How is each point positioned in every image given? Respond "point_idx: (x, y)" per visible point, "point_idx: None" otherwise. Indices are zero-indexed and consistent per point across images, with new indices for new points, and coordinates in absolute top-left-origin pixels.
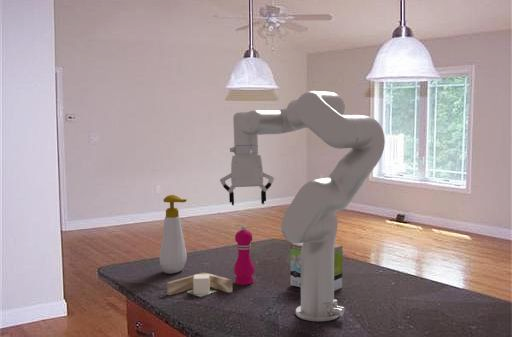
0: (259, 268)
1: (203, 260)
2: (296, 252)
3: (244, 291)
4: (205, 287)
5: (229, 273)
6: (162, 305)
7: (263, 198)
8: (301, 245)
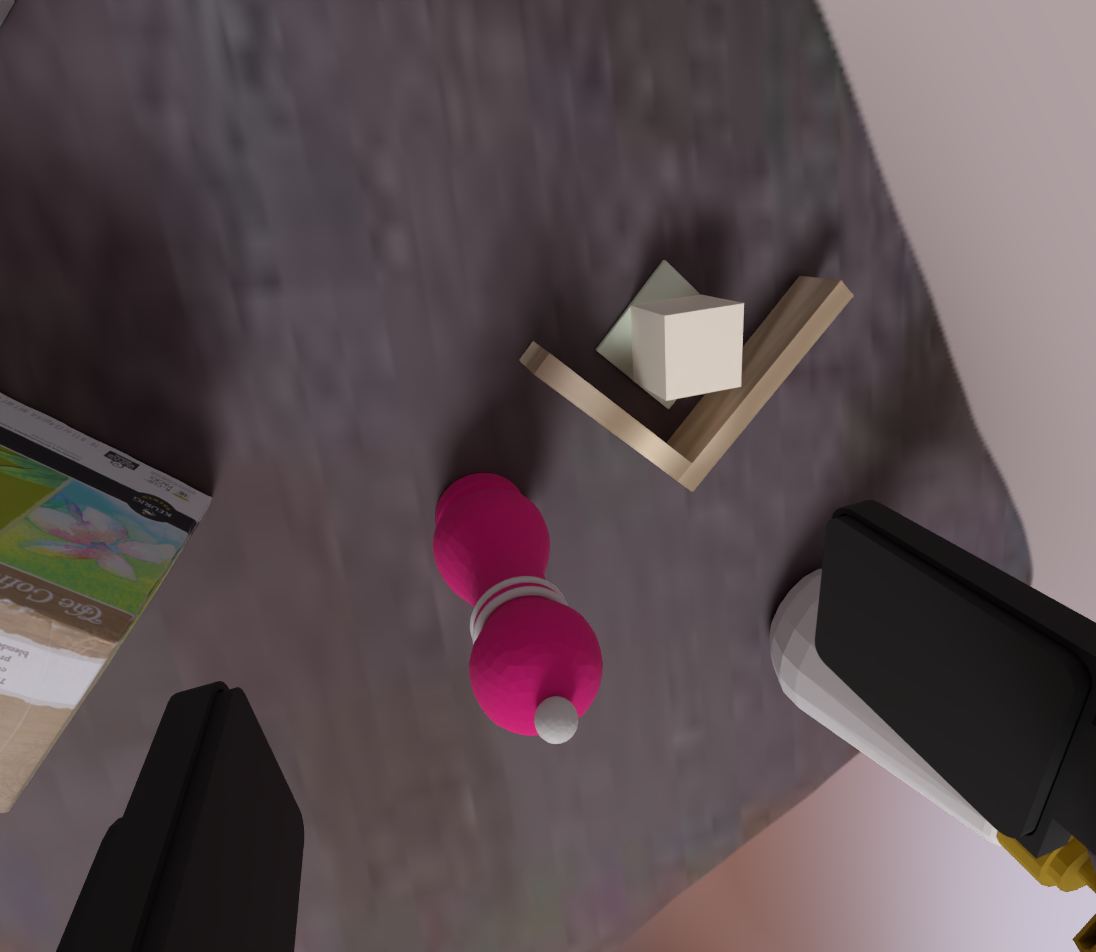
0: (441, 727)
1: (694, 767)
2: (69, 574)
3: (457, 370)
4: (659, 306)
5: None
6: (826, 112)
7: (144, 804)
8: None
